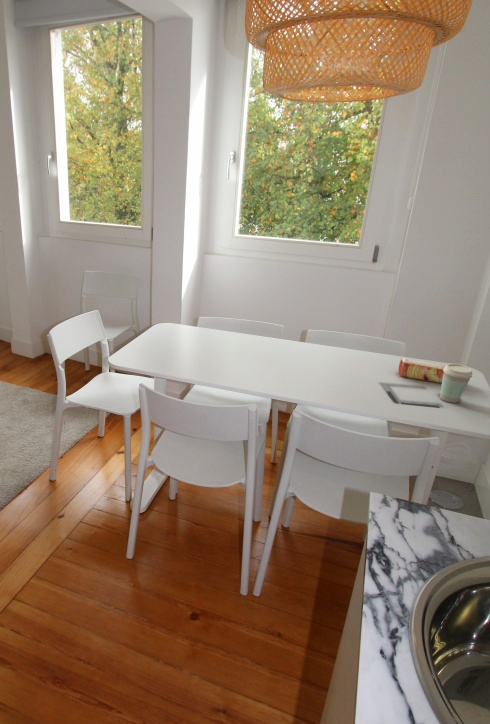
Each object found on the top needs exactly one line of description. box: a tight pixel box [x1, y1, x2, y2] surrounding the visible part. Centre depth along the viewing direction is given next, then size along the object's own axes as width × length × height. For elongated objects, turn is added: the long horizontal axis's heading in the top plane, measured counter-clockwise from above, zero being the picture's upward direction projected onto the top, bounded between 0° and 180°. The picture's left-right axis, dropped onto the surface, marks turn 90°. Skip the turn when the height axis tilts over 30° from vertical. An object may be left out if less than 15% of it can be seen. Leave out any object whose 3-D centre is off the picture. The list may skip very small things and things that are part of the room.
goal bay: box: [386, 390, 441, 409], centre depth 166 cm, size 16×14×1 cm
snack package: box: [398, 357, 446, 384], centre depth 178 cm, size 21×7×7 cm, turn 67°
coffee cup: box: [439, 362, 473, 404], centre depth 162 cm, size 8×8×12 cm
